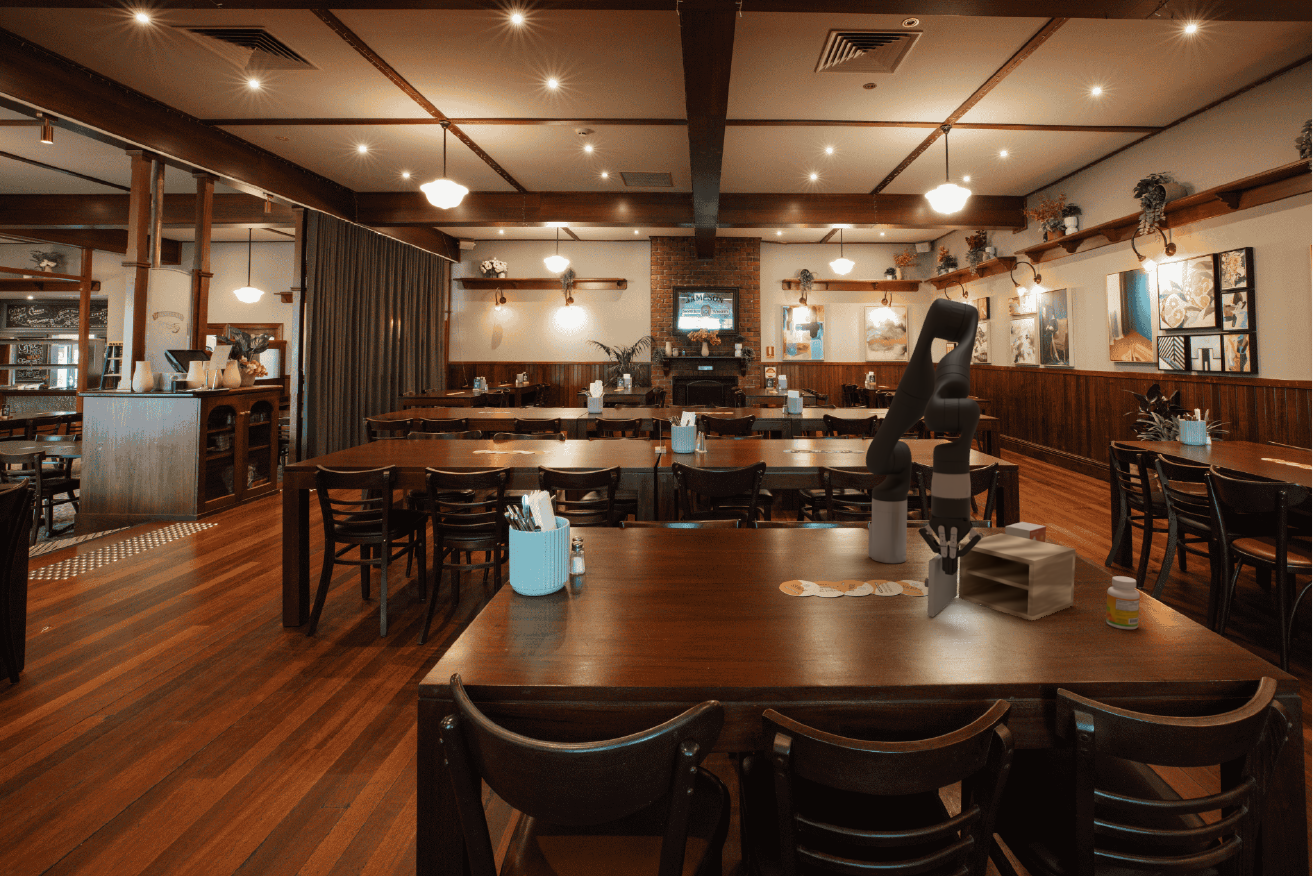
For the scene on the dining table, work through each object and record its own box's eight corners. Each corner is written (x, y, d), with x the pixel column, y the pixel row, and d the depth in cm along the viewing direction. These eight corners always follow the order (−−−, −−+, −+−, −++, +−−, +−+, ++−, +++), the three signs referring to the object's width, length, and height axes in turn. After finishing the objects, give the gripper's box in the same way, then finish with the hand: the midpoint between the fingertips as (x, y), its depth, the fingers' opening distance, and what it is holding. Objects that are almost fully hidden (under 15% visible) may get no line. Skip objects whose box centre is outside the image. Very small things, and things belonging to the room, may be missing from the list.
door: (946, 593, 153) (947, 543, 152) (956, 596, 152) (958, 545, 150) (921, 614, 141) (922, 559, 140) (933, 616, 139) (934, 561, 138)
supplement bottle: (1105, 618, 138) (1108, 573, 137) (1137, 623, 135) (1140, 577, 134) (1105, 626, 134) (1108, 580, 133) (1138, 632, 131) (1141, 584, 130)
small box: (1028, 582, 162) (1030, 530, 161) (1002, 575, 167) (1004, 525, 166) (1044, 576, 166) (1046, 525, 165) (1019, 569, 172) (1021, 521, 170)
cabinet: (958, 598, 152) (960, 543, 150) (999, 585, 160) (1001, 533, 159) (1032, 621, 137) (1034, 560, 136) (1072, 606, 145) (1075, 548, 144)
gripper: (989, 493, 136) (988, 574, 138) (924, 488, 145) (923, 565, 146) (980, 499, 130) (979, 584, 132) (912, 493, 139) (912, 573, 140)
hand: (949, 573), depth 139 cm, fingers closed
